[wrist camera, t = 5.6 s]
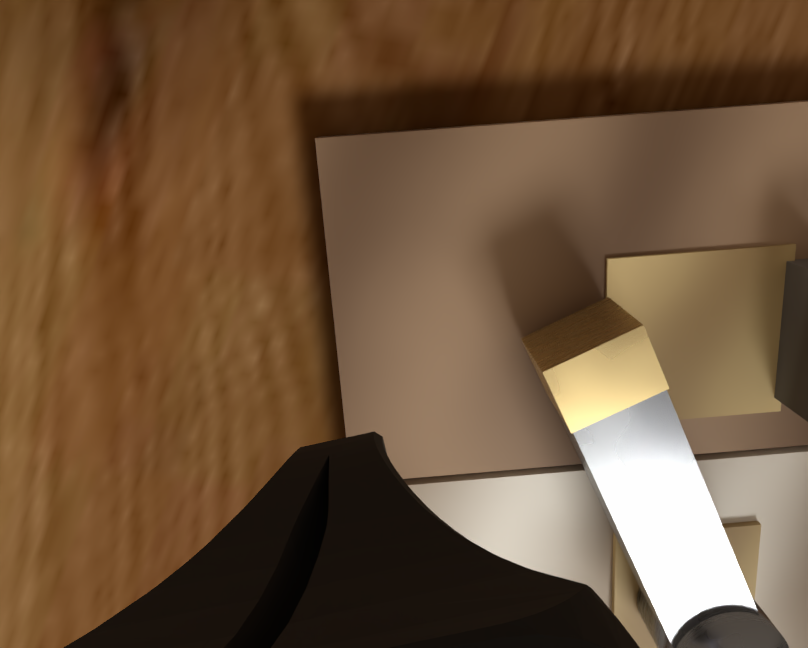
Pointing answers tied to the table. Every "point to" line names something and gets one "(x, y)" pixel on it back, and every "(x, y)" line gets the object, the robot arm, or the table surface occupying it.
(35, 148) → the table surface
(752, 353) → the door board
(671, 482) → the latch bar
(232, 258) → the table surface
